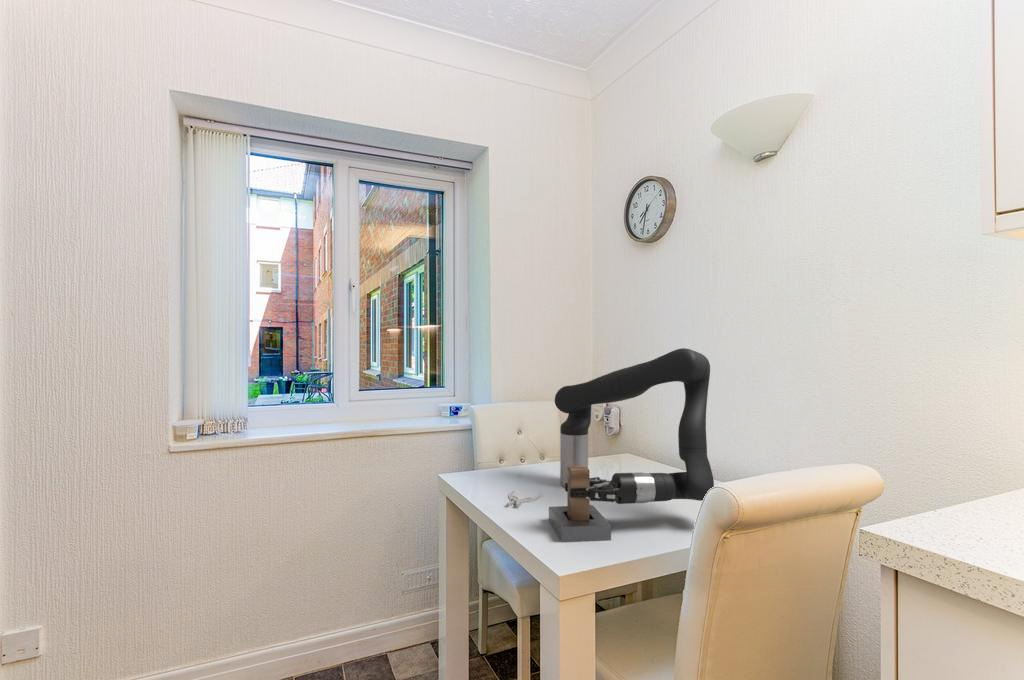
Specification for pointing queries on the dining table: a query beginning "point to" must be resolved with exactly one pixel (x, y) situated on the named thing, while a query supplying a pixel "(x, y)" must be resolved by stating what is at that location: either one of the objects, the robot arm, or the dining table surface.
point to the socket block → (579, 526)
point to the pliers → (518, 502)
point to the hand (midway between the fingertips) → (567, 490)
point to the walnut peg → (578, 506)
